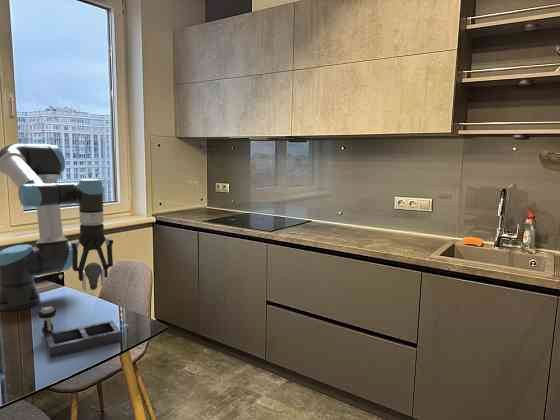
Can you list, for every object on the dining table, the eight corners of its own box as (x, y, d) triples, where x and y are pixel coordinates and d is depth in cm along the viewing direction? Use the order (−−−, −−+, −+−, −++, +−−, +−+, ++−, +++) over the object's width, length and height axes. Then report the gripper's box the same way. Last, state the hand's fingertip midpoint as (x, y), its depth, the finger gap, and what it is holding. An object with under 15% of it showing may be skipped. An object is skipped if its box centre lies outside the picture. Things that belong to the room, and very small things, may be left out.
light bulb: (88, 287, 146) (87, 260, 145) (104, 287, 147) (103, 260, 145) (82, 292, 141) (81, 264, 139) (99, 292, 141) (98, 264, 140)
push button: (35, 335, 136) (34, 307, 135) (53, 330, 140) (51, 303, 139) (42, 342, 132) (40, 312, 130) (59, 337, 135) (58, 308, 134)
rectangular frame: (45, 344, 130) (45, 333, 130) (112, 329, 142) (112, 320, 142) (50, 358, 122) (49, 347, 121) (121, 341, 134) (120, 331, 133)
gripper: (63, 227, 132) (66, 295, 135) (122, 223, 143) (123, 286, 146) (60, 223, 138) (62, 288, 141) (116, 220, 149) (117, 280, 152)
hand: (93, 287), depth 144 cm, fingers closed on light bulb, 5 cm apart
